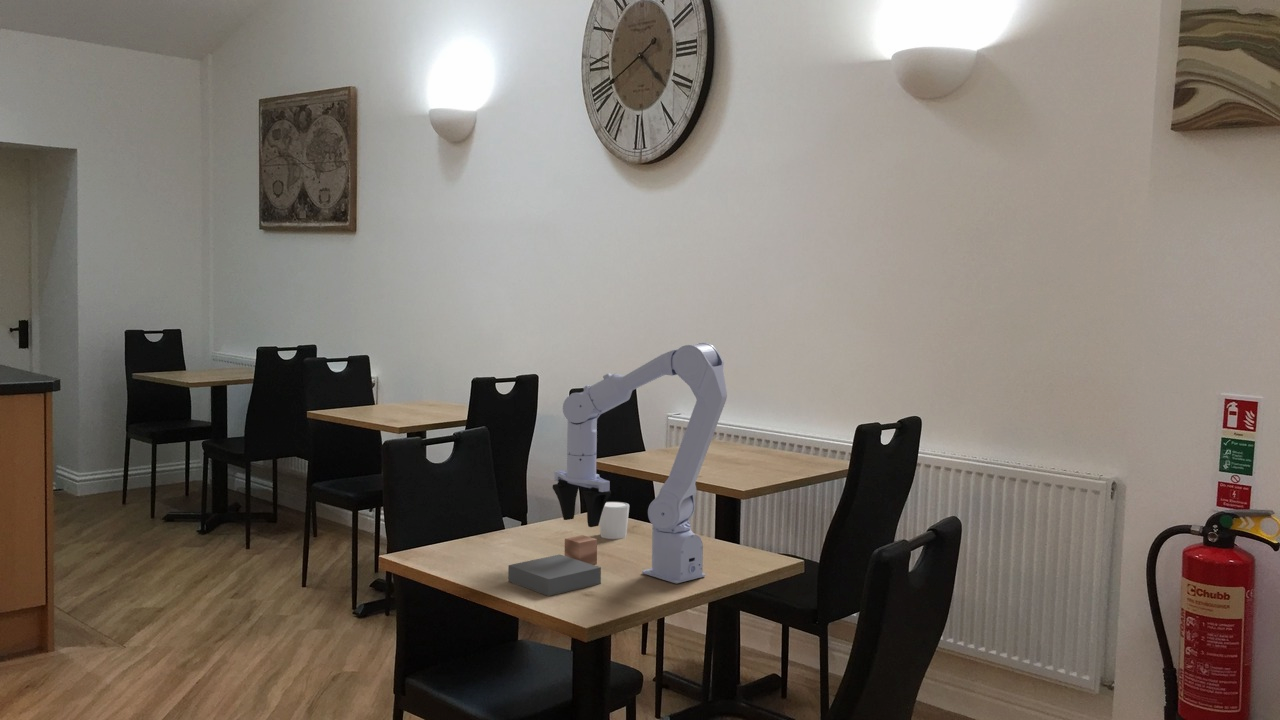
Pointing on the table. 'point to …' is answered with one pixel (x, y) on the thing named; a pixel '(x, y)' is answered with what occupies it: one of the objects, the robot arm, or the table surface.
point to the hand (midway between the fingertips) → (580, 522)
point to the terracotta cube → (582, 549)
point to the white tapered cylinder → (614, 520)
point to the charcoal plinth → (554, 574)
